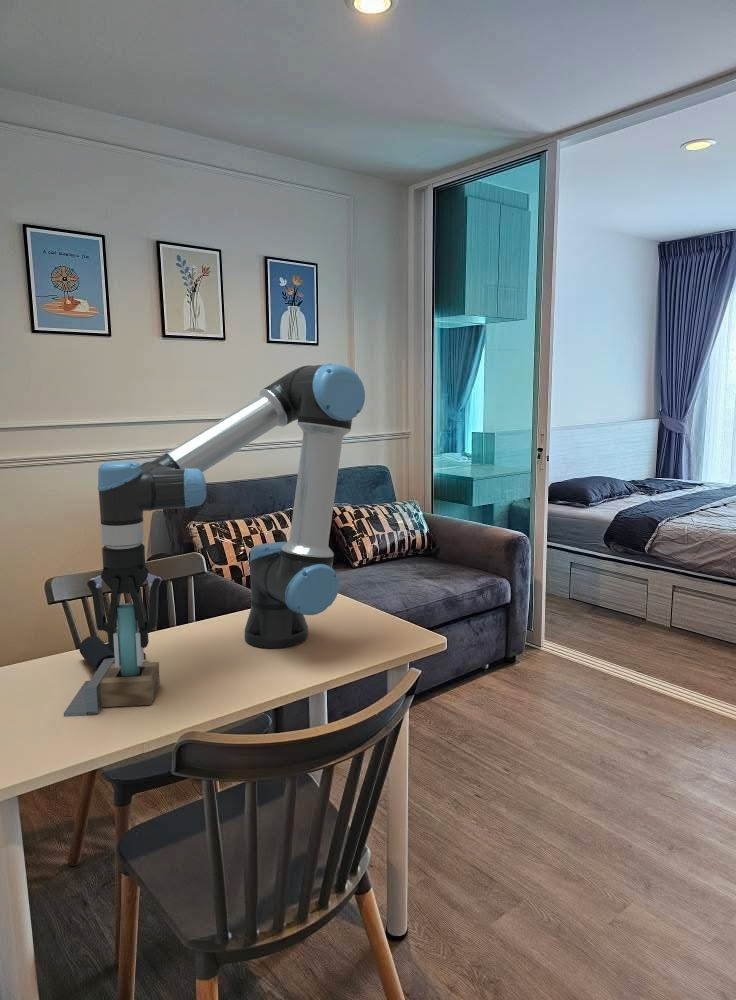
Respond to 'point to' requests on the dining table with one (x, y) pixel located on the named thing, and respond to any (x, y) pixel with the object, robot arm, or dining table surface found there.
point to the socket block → (130, 686)
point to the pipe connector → (96, 651)
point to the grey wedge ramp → (89, 693)
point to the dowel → (127, 640)
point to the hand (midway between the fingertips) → (129, 663)
